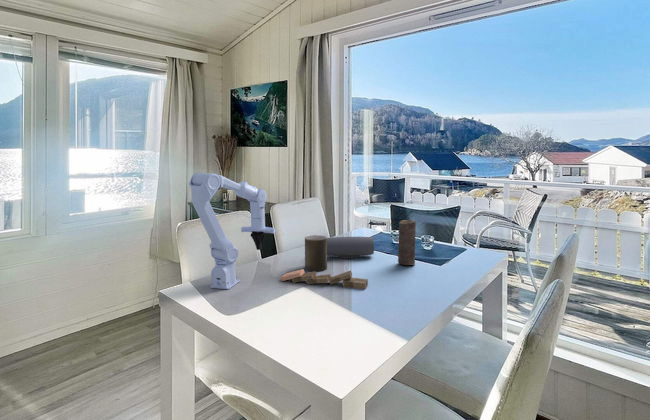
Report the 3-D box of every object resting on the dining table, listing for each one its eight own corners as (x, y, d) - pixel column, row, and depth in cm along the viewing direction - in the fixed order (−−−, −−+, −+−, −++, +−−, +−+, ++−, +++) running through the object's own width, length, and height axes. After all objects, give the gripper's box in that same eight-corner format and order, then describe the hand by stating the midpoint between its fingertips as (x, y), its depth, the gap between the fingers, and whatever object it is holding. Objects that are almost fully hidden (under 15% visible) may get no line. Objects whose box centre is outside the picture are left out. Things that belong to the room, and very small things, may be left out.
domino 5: (342, 284, 142) (364, 287, 139) (342, 280, 141) (364, 283, 138) (346, 280, 146) (367, 283, 143) (346, 276, 146) (367, 279, 143)
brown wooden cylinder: (410, 268, 162) (411, 222, 158) (394, 265, 166) (395, 221, 163) (417, 263, 168) (419, 220, 164) (402, 261, 172) (403, 218, 169)
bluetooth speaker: (371, 253, 184) (371, 234, 182) (374, 259, 175) (374, 238, 173) (324, 254, 183) (324, 234, 182) (325, 260, 174) (325, 239, 173)
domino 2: (292, 282, 146) (312, 279, 144) (291, 278, 146) (311, 275, 143) (297, 278, 151) (316, 275, 148) (296, 274, 150) (315, 271, 148)
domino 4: (330, 284, 143) (351, 277, 142) (329, 280, 143) (349, 273, 141) (332, 281, 148) (352, 274, 146) (330, 277, 147) (350, 270, 146)
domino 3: (307, 284, 144) (327, 282, 142) (306, 280, 144) (326, 278, 142) (310, 280, 149) (331, 278, 146) (309, 276, 149) (330, 274, 146)
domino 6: (343, 289, 142) (365, 291, 139) (343, 285, 141) (365, 287, 139) (346, 285, 146) (367, 287, 143) (346, 281, 146) (367, 283, 143)
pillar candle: (324, 272, 158) (324, 237, 156) (302, 270, 160) (301, 236, 157) (329, 265, 167) (329, 232, 165) (307, 264, 169) (307, 231, 167)
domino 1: (281, 281, 148) (300, 276, 145) (280, 277, 148) (299, 272, 145) (286, 277, 152) (304, 272, 150) (284, 273, 152) (303, 268, 149)
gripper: (277, 216, 157) (278, 247, 160) (245, 215, 161) (247, 245, 163) (271, 219, 151) (272, 252, 153) (238, 218, 154) (239, 250, 156)
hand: (259, 249), depth 158 cm, fingers closed
